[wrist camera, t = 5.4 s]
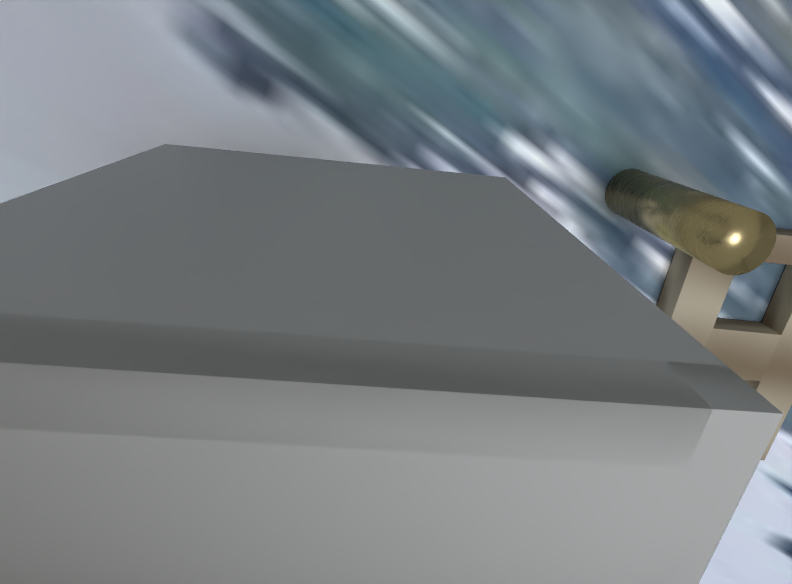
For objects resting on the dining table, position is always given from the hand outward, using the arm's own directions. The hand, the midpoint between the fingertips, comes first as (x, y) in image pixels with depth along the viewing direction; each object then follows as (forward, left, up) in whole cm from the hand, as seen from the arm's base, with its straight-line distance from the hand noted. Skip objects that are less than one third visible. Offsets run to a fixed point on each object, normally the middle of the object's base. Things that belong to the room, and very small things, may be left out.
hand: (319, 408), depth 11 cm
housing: (0, 0, -2) cm, 2 cm away
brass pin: (-3, +14, -17) cm, 22 cm away
